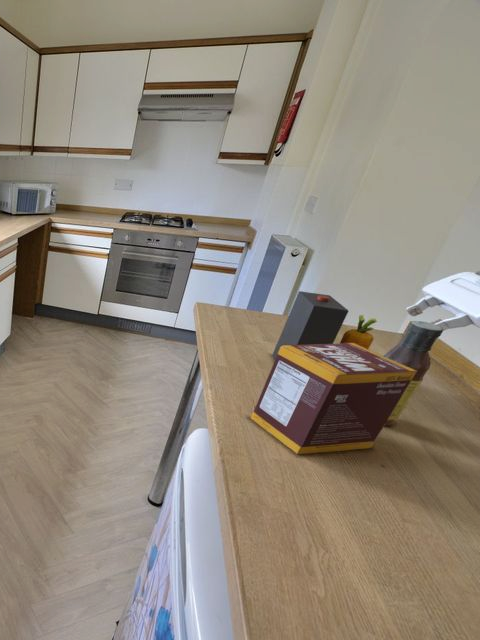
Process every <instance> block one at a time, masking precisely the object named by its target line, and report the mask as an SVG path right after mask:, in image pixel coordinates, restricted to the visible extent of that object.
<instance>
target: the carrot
mask: <svg viewBox="0 0 480 640" xmlns="http://www.w3.org/2000/svg"><path fill="white" fill-rule="evenodd" d="M365 321H366V319H365V318H364V314H360V315H359V316H358V323H357V329H356V328H351V329H349V330H346V331H345V332H344V333H343V335H342V336H341V339H340V341H339V344H340V343H355V344H357V345H359V346H361V347H364V348H366V349H368V350H370V347H371V346H372V343H373V342H374V339H375V336H373V334H371V333H370V331H372V330H373V331H374V329H375V328H374V327H371V325H373V324H375V323H377V322H378V321H377V319H376V318H375V317H372V318H370V319H369V320H368V321H366V322H365ZM364 322H365V323H364Z"/></svg>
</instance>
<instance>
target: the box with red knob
mask: <svg viewBox="0 0 480 640" xmlns="http://www.w3.org/2000/svg"><path fill="white" fill-rule="evenodd" d="M348 313H349V309H348V308H346V307H345V306H344V305H342V304H341V303H340V302H339V301H338V300H336V299H335V298H334V297H333V296H331V295H330V294H323V293H317V292H316V293H315V292H308V291H301V290H298V293H297V294H296V297H295V299H294V302H293V304H292V306H291V309H290V312H289V314H288V316H287V319H286V321H285V323H284V326H283V327H282V331H281V334H280V335H279V338H278V340H277V343H276V345H275V348H274V351H272V352H273V353H272V355H271V356H272V357H273V359H274V360H275V359H276V357H277V354H278V352H279V349H280V347H281V346H284V345H309V344H334V343H335V340H336V338H337V337H338V334H339V332H340V330H341V328H342V326H343V324H344V322H345V320H346V317H347V316H348Z"/></svg>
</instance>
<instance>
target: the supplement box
mask: <svg viewBox="0 0 480 640" xmlns="http://www.w3.org/2000/svg"><path fill="white" fill-rule="evenodd" d="M416 372H417V371H416V370H414V369H411V368H409V367H407V366H405V365H402V364H400V363H398V362H395V361H393V360H391V359H388V358H386V357H384V355H382V354H379V353H377V352H375V351H373V350H371V349H366V348H364V347H361V346H359V345H357V344H355V343H340V342H339V343H333V344H309V345H284V346H281V347H280V349H279V352H278V354H277V357H276V359H274V362H273V364H272V367H271V369H270V371H269V374H268V376H267V378H266V381H265V383H264V386H263V388H262V391H261V393H260V396H259V398H258V399H257V402H256V405H255V406H254V410H253V412H252V414H251V417H250V420H252V421H253V422H255V423H256V424H257V425H259V426H260V427H261V428H262V429H264V430H265V431H266V432H268V433H269V434H270V435H272V436H273V437H274V438H275V439H277V440H278V441H279V442H281V443H282V444H284V446H286V447H287V448H289V449H290V450H291V451H293V452H294V453H295V454H297V455H306V454H317V453H329V452H330V453H331V452H340V451H341V452H342V451H353V450H365V449H366V450H367V449H371V448H372V447H373V445H374V443H375V441H376V440H377V439H378V437H379V435H380V433H381V431H382V430H383V428H384V427H385V426H386V425H385V423H386V421H387V420H388V418H389V416H390V415H391V413H392V411H393V410H394V408H395V406H396V405H397V403H398V402H399V400H400V398H401V397H402V395H403V393H404V392H405V390H406V388H407V387H408V385H409V383H410V382H411V380H412V378H413V377H414V375H415V373H416Z"/></svg>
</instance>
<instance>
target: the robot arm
mask: <svg viewBox="0 0 480 640" xmlns="http://www.w3.org/2000/svg"><path fill="white" fill-rule="evenodd" d="M421 291H422V293H423V295H424V297H421V298H420V299H419V300H418V301H417V302H416V303H414V304H413V305H409V306H408V307H406V308H405V311H406V312H407V313H408V315H410V316H411V317H417V316H419V315H422V314H424V312H423V311H425V310H427V309H428V308H434V307H437V306H438V307H440V308H442V309H444V310H446V311H448V312H449V313H451V314H453V315H454V316H453V317H450V318H446V319H441V318H438V319H436V320H434V321H431V322H430V323H432V324H435V325H438V326H440V327H442V328H443V329H444V330H443V332H444V331H446V330H449V329H451V330H452V329H457V328H465V327H468V326H470V325H473V326H475V327H477V328H479V329H480V270H479V271H475V272H472V271H462V272H458V273H455V274H452V275H450V276H449V275H448V276H446V277H444V278H441V279H439V280H436V281H433V282H431V283H428V284H426V285H425V286H424V287H422V289H421Z"/></svg>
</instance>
